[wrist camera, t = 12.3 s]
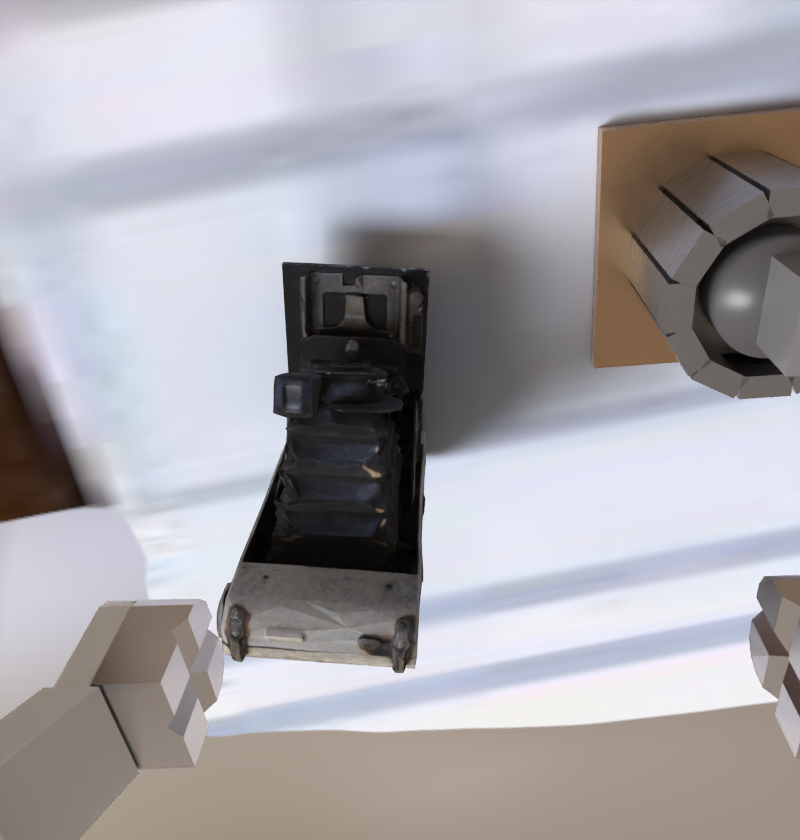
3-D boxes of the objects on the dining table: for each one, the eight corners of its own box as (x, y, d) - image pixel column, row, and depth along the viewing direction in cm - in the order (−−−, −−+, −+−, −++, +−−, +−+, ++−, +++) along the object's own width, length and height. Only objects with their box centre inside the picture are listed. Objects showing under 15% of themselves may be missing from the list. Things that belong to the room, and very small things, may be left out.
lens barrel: (598, 127, 39) (638, 160, 31) (872, 98, 37) (987, 126, 29) (591, 359, 46) (621, 435, 38) (821, 343, 44) (902, 418, 36)
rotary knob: (710, 229, 34) (753, 266, 29) (842, 220, 33) (907, 256, 29) (694, 344, 37) (731, 394, 32) (815, 338, 36) (871, 388, 32)
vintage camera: (443, 250, 43) (434, 399, 26) (430, 466, 50) (415, 695, 33) (285, 242, 43) (169, 383, 26) (295, 457, 51) (210, 679, 33)
